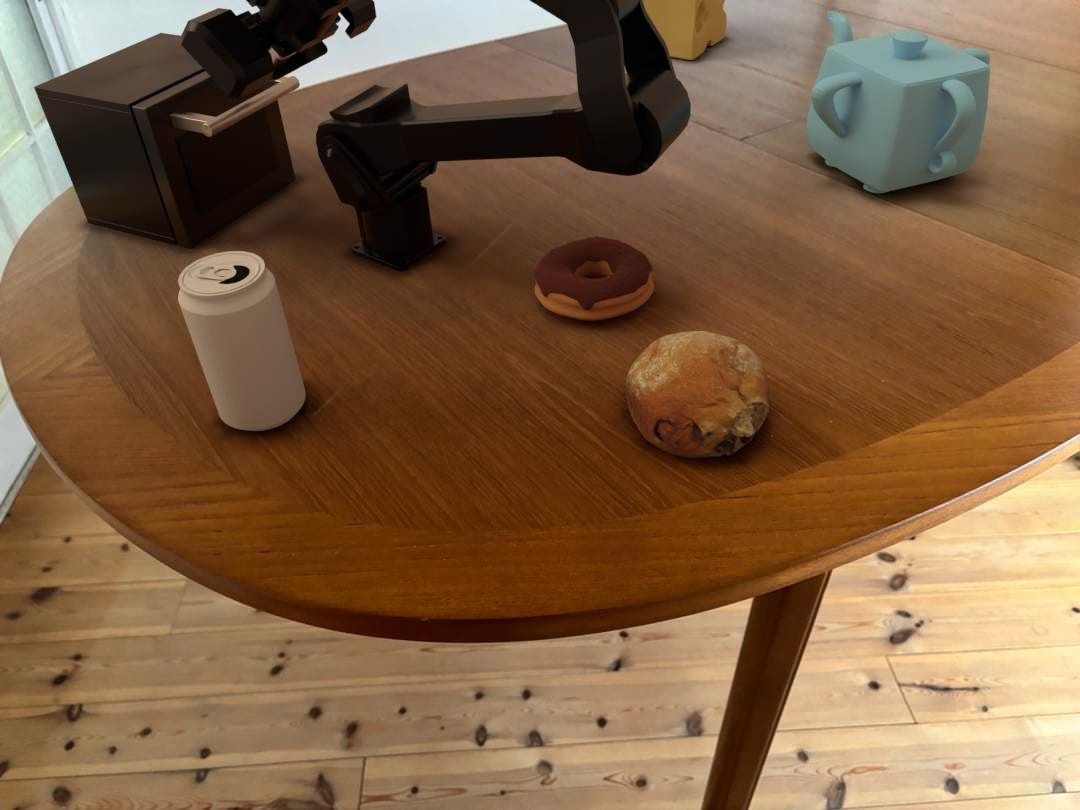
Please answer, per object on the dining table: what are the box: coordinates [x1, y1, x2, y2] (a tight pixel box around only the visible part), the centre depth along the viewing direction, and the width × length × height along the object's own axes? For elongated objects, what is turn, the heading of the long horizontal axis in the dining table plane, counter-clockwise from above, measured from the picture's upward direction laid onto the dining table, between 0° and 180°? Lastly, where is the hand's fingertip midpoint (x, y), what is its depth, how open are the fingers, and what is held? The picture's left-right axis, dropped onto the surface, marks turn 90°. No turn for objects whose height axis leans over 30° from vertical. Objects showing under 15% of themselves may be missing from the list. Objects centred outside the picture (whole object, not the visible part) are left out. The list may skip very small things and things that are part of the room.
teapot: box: [806, 10, 991, 194], centre depth 90 cm, size 18×16×14 cm
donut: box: [532, 235, 655, 322], centre depth 77 cm, size 10×10×4 cm
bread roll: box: [625, 330, 770, 459], centre depth 64 cm, size 10×10×8 cm
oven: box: [33, 32, 205, 246], centre depth 91 cm, size 12×16×14 cm
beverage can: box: [177, 250, 307, 432], centre depth 64 cm, size 6×6×12 cm
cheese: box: [643, 0, 728, 61], centre depth 122 cm, size 10×11×10 cm
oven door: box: [132, 71, 301, 249], centre depth 88 cm, size 7×16×14 cm, turn 153°
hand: (249, 86), depth 82 cm, fingers closed
